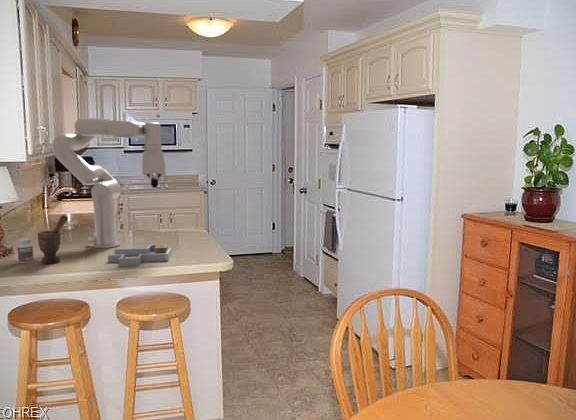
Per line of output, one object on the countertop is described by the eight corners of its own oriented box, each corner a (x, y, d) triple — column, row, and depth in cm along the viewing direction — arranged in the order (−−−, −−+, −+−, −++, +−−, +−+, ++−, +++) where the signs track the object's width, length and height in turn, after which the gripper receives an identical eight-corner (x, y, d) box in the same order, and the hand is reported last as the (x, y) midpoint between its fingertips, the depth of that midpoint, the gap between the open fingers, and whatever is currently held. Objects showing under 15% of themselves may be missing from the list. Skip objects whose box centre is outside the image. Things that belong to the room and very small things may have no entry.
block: (155, 259, 220) (154, 248, 220) (156, 256, 225) (156, 245, 225) (166, 258, 221) (166, 247, 220) (168, 256, 226) (167, 245, 225)
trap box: (104, 266, 208) (103, 259, 207) (118, 251, 234) (118, 245, 234) (165, 264, 210) (165, 257, 210) (173, 250, 237) (173, 244, 237)
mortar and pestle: (64, 257, 223) (61, 213, 220) (72, 261, 217) (69, 215, 214) (36, 262, 215) (33, 215, 212) (44, 265, 209) (41, 218, 206)
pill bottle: (22, 260, 218) (20, 237, 217) (35, 260, 218) (34, 237, 217) (16, 263, 212) (14, 240, 211) (30, 263, 213) (28, 240, 211)
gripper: (135, 148, 234) (137, 188, 237) (168, 148, 236) (169, 187, 238) (138, 148, 242) (140, 186, 244) (170, 148, 243) (171, 186, 246)
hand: (154, 187), depth 241 cm, fingers closed
